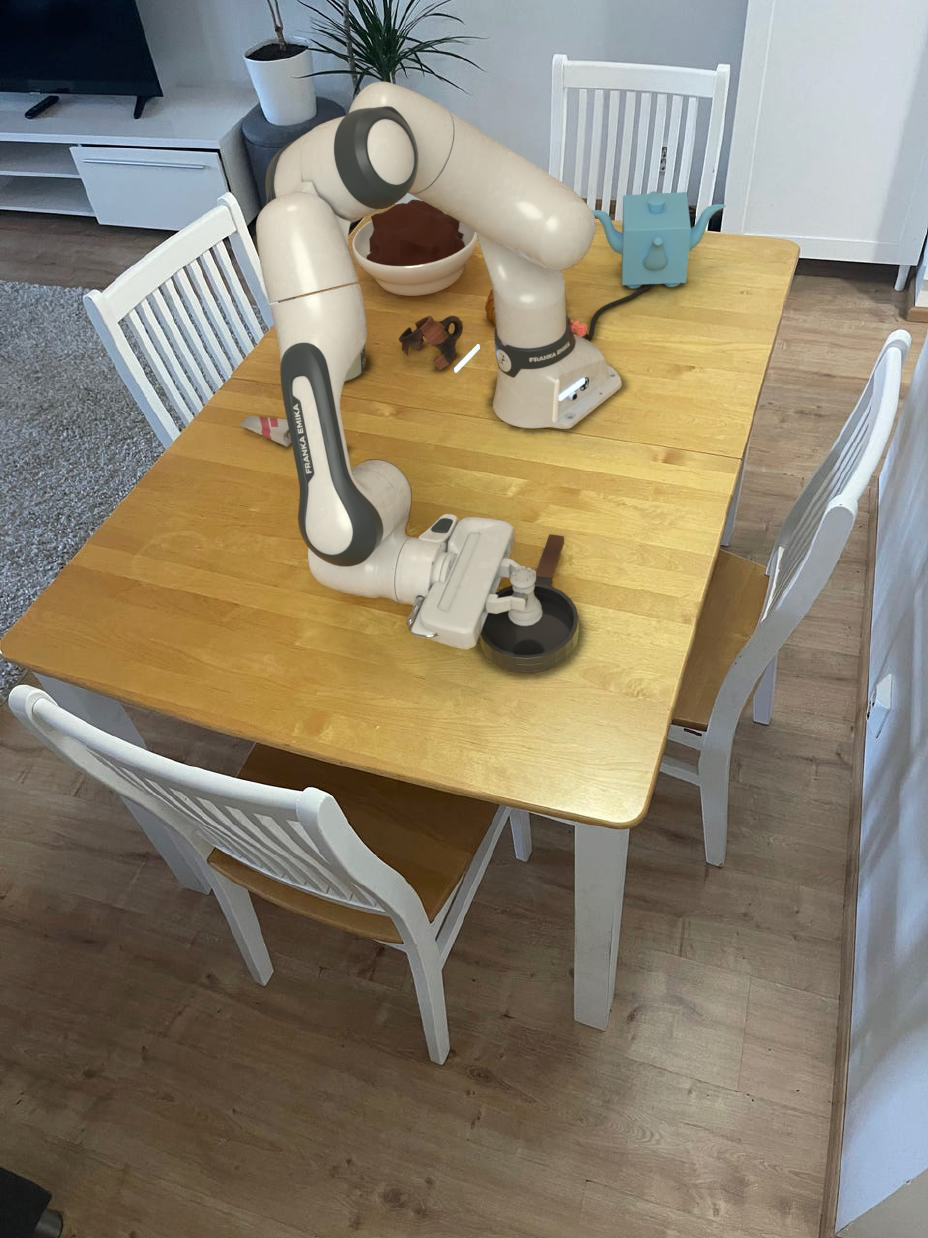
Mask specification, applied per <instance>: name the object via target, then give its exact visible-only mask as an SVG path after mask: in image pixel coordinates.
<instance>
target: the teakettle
mask: <svg viewBox="0 0 928 1238" xmlns="http://www.w3.org/2000/svg"><path fill="white" fill-rule="evenodd" d="M725 207H726V204H722V203H721V204H720V203H718V204H712V205H711V204H710V205H709V206H707V207H706V208H705V209H703V211H702V212H701V213H700V216H699V217H698V219H697V222H696V223H695V224H694V226H691V218H690V217H689V214H690V209H689V200H688V192H686V191H681V192H662V193H661V192H660V193H659V192H658V191H650V192H649V193H642V194H624V195H623V196H622V222H621V231H618V229H616V228H615V226H614V224H613V221H612V219H611V217H610V215H609V214H608V213H607V212H606V211H604V210H599V209H595V210H594V209H593V210H592V209H591V210H592V212H593V214H594V217H595V218H596V219H598V220H599V222H600V223H601V225H602V227H603V231H604V234H605V237H606V242H607V243H608V245H609V247H610V248H611V250H613V251H614V252H615V253H617V254H619V255H621V277H622V278H621V285H622V286H626V287H627V288H630V289H638V288H640V287H642V285H649V284H657V285H662V284H663V285H664V286H666V287H668V288H675V287H678V286H680V285H681V284H686V283H687V278H688V267H689V254H690V251H691V250H693V249H694V248H696V247H697V246H698V245H699V244H700V242H701V240H702V239H703V236H704V234H705V231H706V229H707V227H708V224H709V222H710V219H712V218H713V216H714V214H716V213H717V212H718V211H721V210H722V209H724V208H725Z"/></svg>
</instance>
